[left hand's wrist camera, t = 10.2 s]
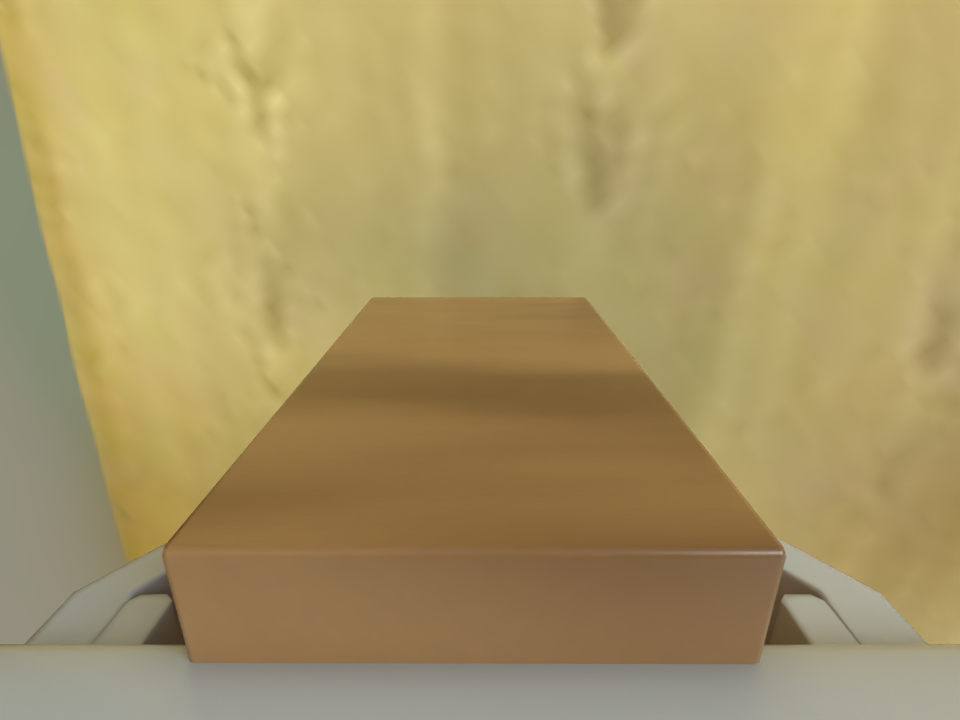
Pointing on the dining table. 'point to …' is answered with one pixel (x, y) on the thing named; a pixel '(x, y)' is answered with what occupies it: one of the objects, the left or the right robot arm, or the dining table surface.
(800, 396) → the dining table surface
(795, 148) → the dining table surface
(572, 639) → the bar
